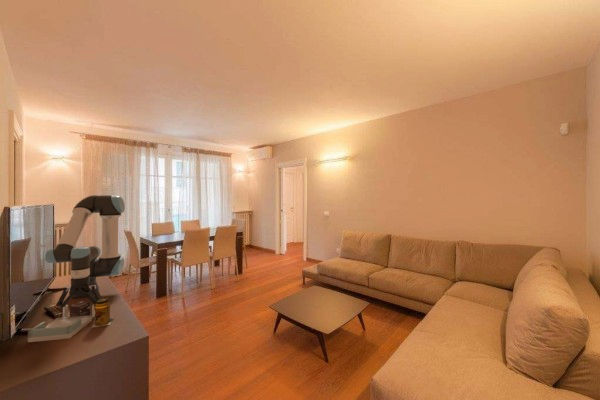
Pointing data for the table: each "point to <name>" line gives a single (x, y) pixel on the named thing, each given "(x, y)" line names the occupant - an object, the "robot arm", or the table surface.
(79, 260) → the robot arm
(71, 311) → the box
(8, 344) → the table surface
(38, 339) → the tray
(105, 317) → the condiment
